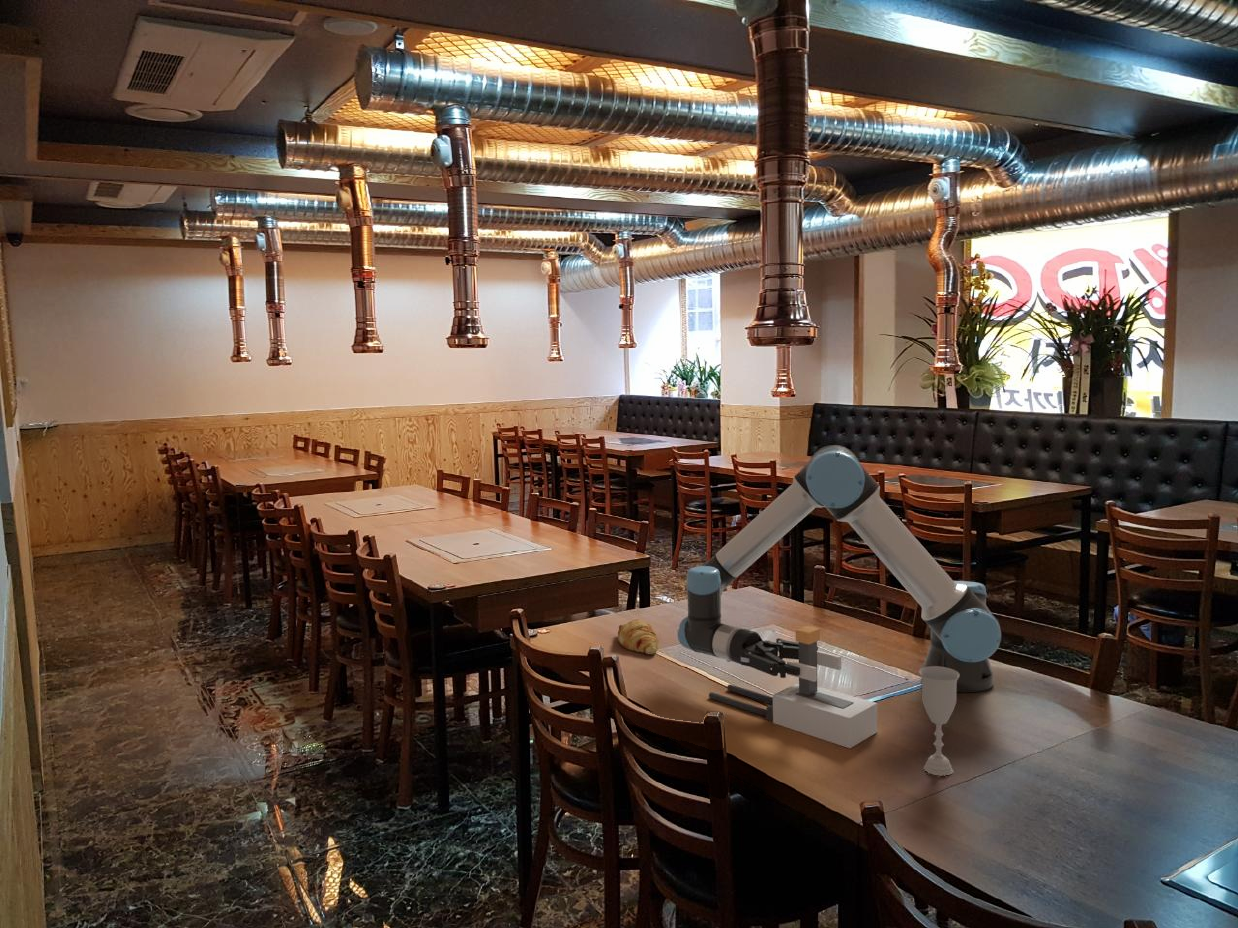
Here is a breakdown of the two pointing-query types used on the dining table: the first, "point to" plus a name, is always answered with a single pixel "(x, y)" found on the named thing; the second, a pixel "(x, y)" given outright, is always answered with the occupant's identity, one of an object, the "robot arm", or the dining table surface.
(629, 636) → the croissant
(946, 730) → the dining table surface
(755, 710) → the grey u-shaped fork
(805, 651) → the lever
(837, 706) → the box
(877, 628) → the dining table surface
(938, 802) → the dining table surface
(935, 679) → the chalice
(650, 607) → the dining table surface
